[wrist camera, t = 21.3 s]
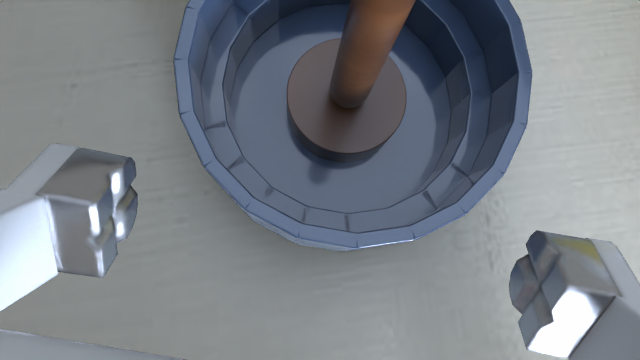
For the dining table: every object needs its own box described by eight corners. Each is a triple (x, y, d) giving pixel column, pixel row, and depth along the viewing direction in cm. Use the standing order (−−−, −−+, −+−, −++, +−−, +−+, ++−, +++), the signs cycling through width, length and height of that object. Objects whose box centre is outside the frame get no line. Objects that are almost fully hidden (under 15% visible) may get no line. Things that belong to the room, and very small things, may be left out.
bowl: (173, 222, 24) (137, 210, 18) (231, -41, 27) (216, -126, 21) (458, 272, 25) (511, 276, 19) (490, 10, 27) (547, -59, 21)
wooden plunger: (277, 151, 25) (233, -396, 4) (297, 45, 26) (342, -826, 5) (388, 171, 25) (872, -253, 4) (404, 65, 26) (863, -691, 5)
